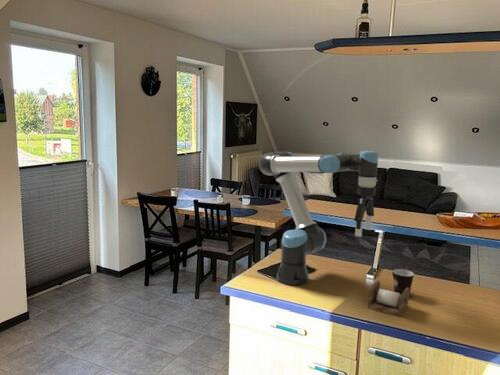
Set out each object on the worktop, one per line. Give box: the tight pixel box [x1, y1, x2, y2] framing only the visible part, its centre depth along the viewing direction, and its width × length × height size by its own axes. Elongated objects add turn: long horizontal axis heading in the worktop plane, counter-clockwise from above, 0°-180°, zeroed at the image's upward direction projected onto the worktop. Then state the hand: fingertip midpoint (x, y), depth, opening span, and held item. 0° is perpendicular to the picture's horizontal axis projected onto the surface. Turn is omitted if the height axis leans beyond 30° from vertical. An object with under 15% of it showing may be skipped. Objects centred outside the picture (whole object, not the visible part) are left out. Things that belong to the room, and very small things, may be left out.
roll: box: [377, 288, 401, 308], centre depth 174 cm, size 8×6×6 cm
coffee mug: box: [392, 268, 415, 295], centre depth 190 cm, size 12×9×10 cm
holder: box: [367, 280, 410, 318], centre depth 174 cm, size 14×12×8 cm
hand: (363, 232), depth 188 cm, fingers open, 13 cm apart
